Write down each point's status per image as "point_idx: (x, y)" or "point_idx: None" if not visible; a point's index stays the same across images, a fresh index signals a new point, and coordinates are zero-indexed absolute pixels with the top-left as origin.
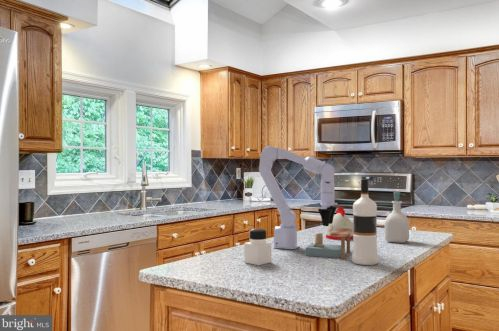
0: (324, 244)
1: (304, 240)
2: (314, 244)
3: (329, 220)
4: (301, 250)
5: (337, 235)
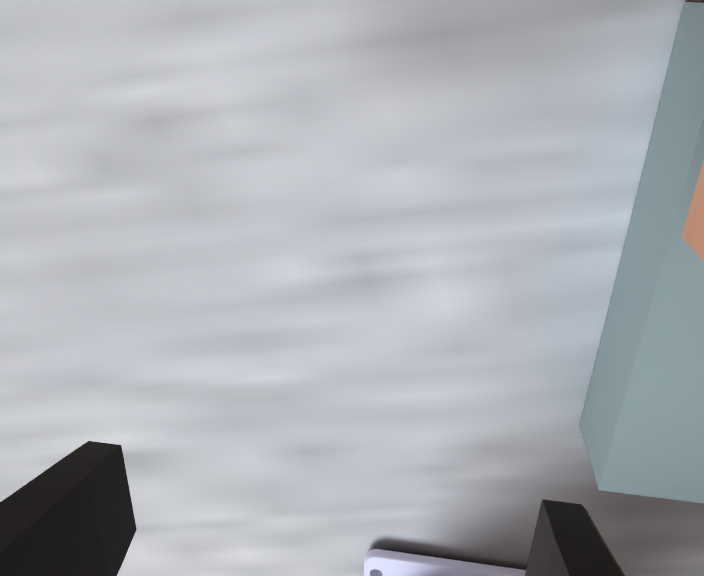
0: (674, 339)
1: None
2: (692, 459)
3: (85, 551)
4: None
5: None
